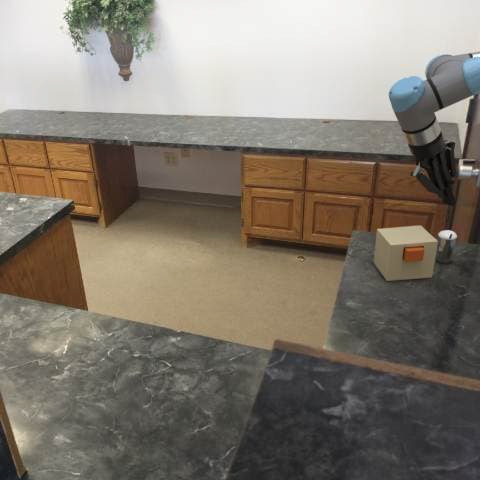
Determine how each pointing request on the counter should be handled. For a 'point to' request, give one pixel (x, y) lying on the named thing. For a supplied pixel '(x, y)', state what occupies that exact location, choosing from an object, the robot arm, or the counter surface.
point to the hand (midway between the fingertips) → (449, 202)
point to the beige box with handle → (392, 251)
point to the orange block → (413, 254)
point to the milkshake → (445, 245)
